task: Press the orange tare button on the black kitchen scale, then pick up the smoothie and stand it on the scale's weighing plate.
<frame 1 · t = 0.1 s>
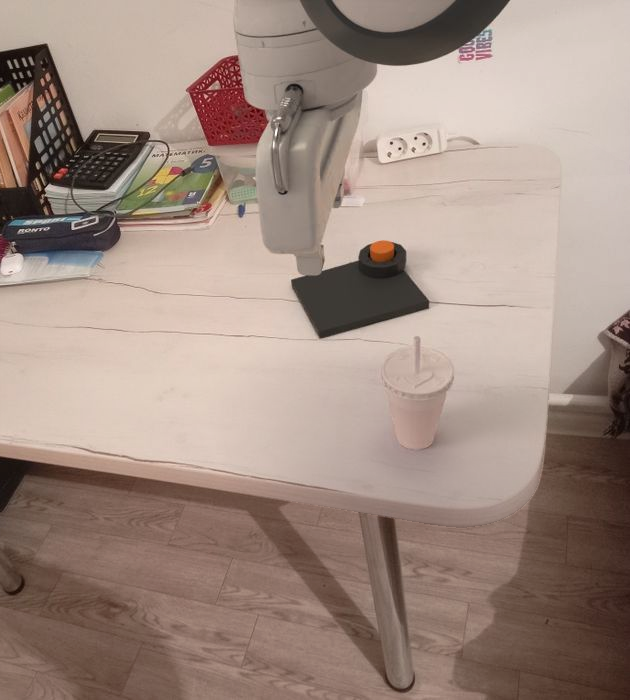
hand: (322, 235, 50), 25 cm above the table, tool pointing down, fingers open, 8 cm apart
scale: (356, 296, 82), on the table
tare button: (382, 251, 82), point 3 cm above the table, slide at 0.1 cm
smoothie: (414, 436, 64), on the table
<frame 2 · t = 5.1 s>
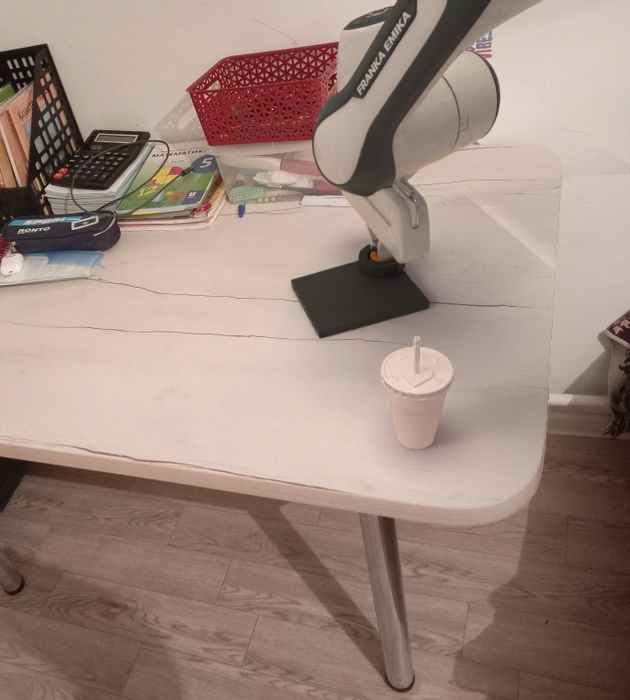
hand: (381, 253, 82), 3 cm above the table, tool pointing down, fingers closed, pressing on tare button
tare button: (382, 258, 83), point 2 cm above the table, slide at -1.0 cm, touching gripper
everything else where it was.
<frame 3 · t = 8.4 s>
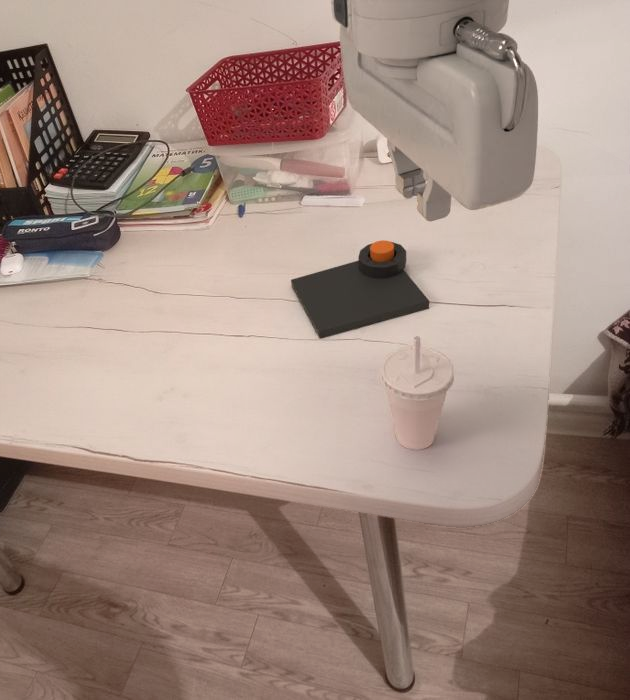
hand: (421, 203, 46), 27 cm above the table, tool pointing down, fingers closed
tare button: (382, 251, 82), point 3 cm above the table, slide at 0.1 cm
everything else where it was.
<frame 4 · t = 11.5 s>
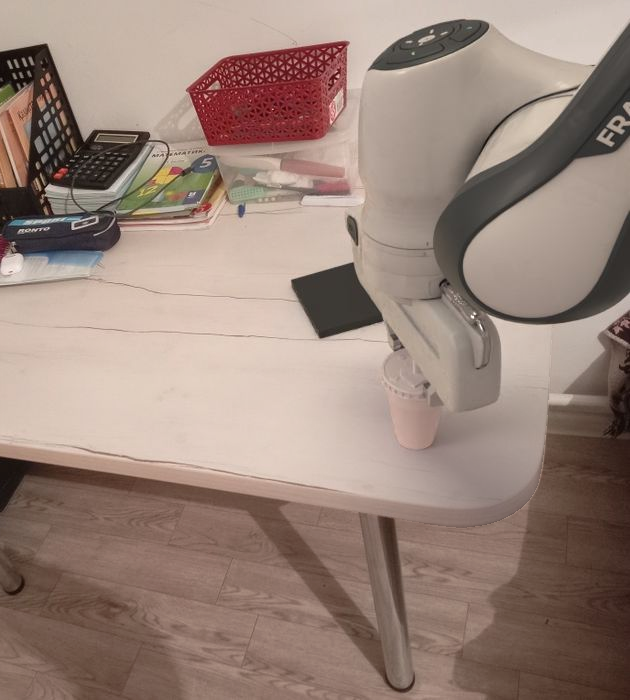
hand: (416, 372, 58), 9 cm above the table, tool pointing down, fingers closed on smoothie, 6 cm apart
smoothie: (414, 436, 64), on the table, touching gripper
everything else where it was.
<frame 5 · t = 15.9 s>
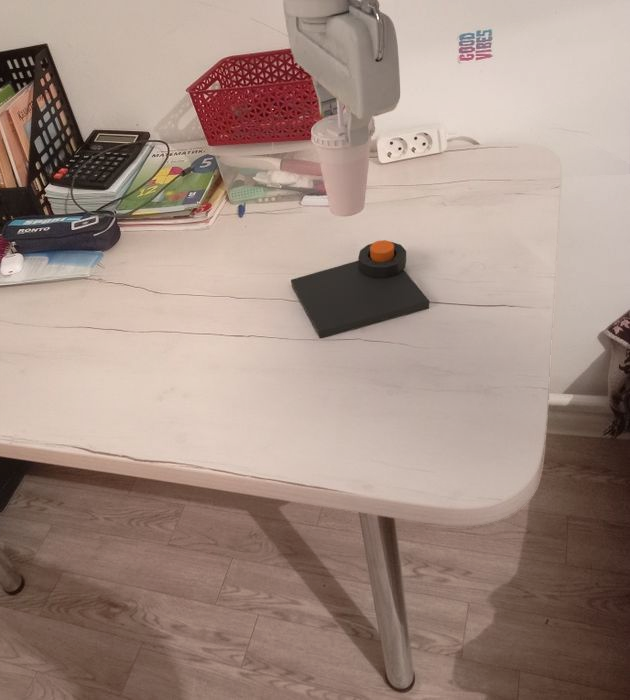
hand: (342, 129, 64), 25 cm above the table, tool pointing down, fingers closed on smoothie, 6 cm apart
smoothie: (347, 209, 70), point 15 cm above the table, touching gripper
everything else where it was.
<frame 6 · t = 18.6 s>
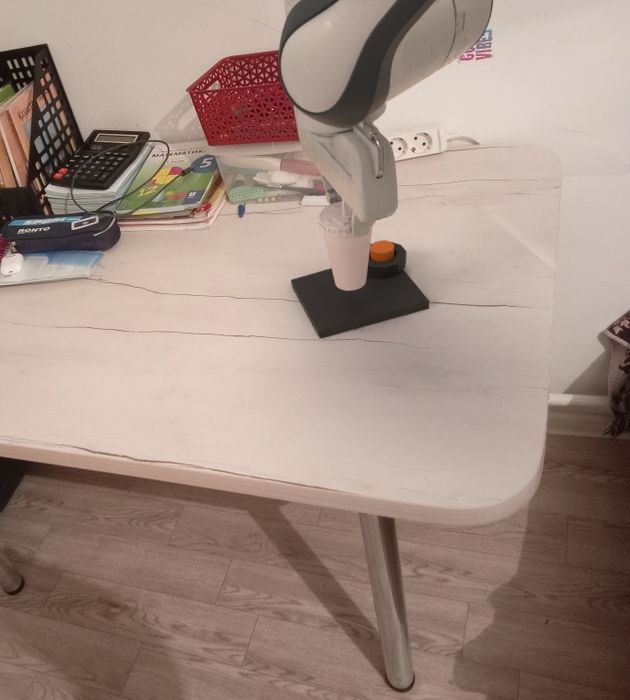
hand: (346, 217, 71), 14 cm above the table, tool pointing down, fingers closed on smoothie, 6 cm apart
smoothie: (350, 282, 77), point 5 cm above the table, touching gripper
everything else where it was.
when the fingers open (10 cm above the table, at t = 20.7 s): smoothie stays where it is, resting on scale.
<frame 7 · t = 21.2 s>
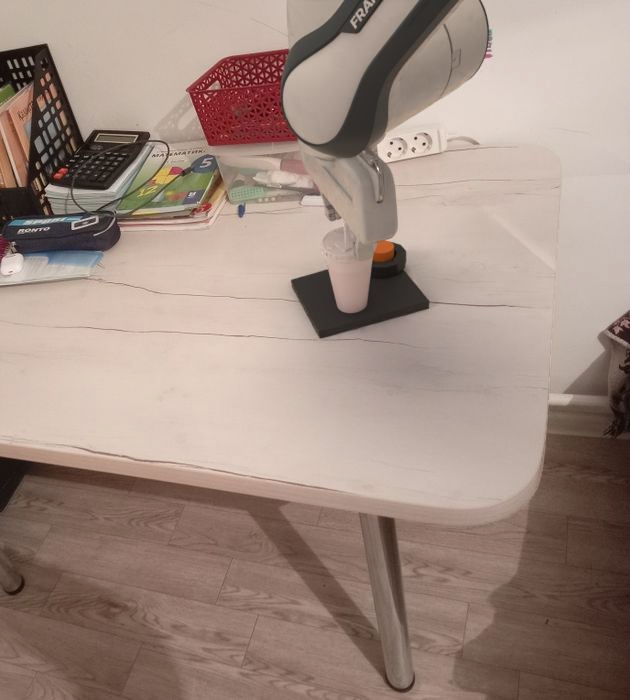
hand: (348, 236, 73), 11 cm above the table, tool pointing down, fingers open, 8 cm apart
smoothie: (352, 305, 79), point 1 cm above the table, touching scale
everything else where it was.
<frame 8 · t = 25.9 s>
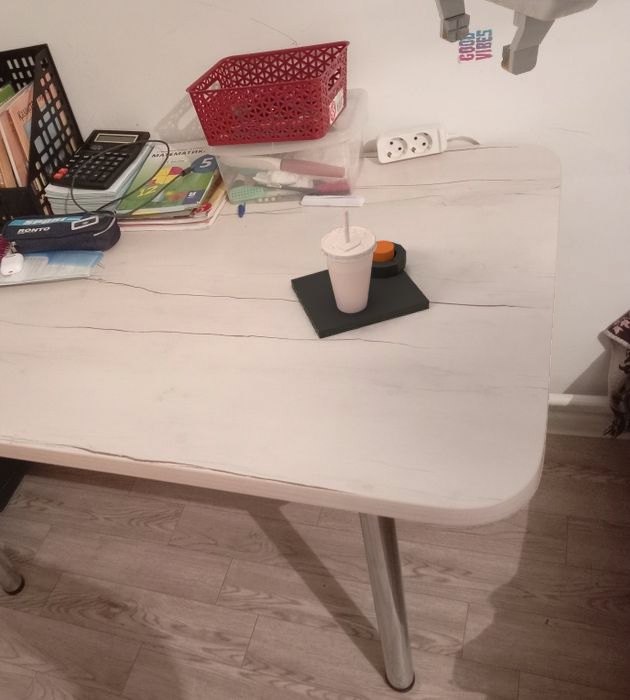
hand: (483, 53, 49), 33 cm above the table, tool pointing down, fingers open, 8 cm apart
nothing on the table moved.
at the end: tare button pushed in 1.0 cm at the most during the clip, back to where it started at the end; smoothie inside the target area on the scale (1.4 cm from its centre), point 1.0 cm above the scale's base; smoothie touching scale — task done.
